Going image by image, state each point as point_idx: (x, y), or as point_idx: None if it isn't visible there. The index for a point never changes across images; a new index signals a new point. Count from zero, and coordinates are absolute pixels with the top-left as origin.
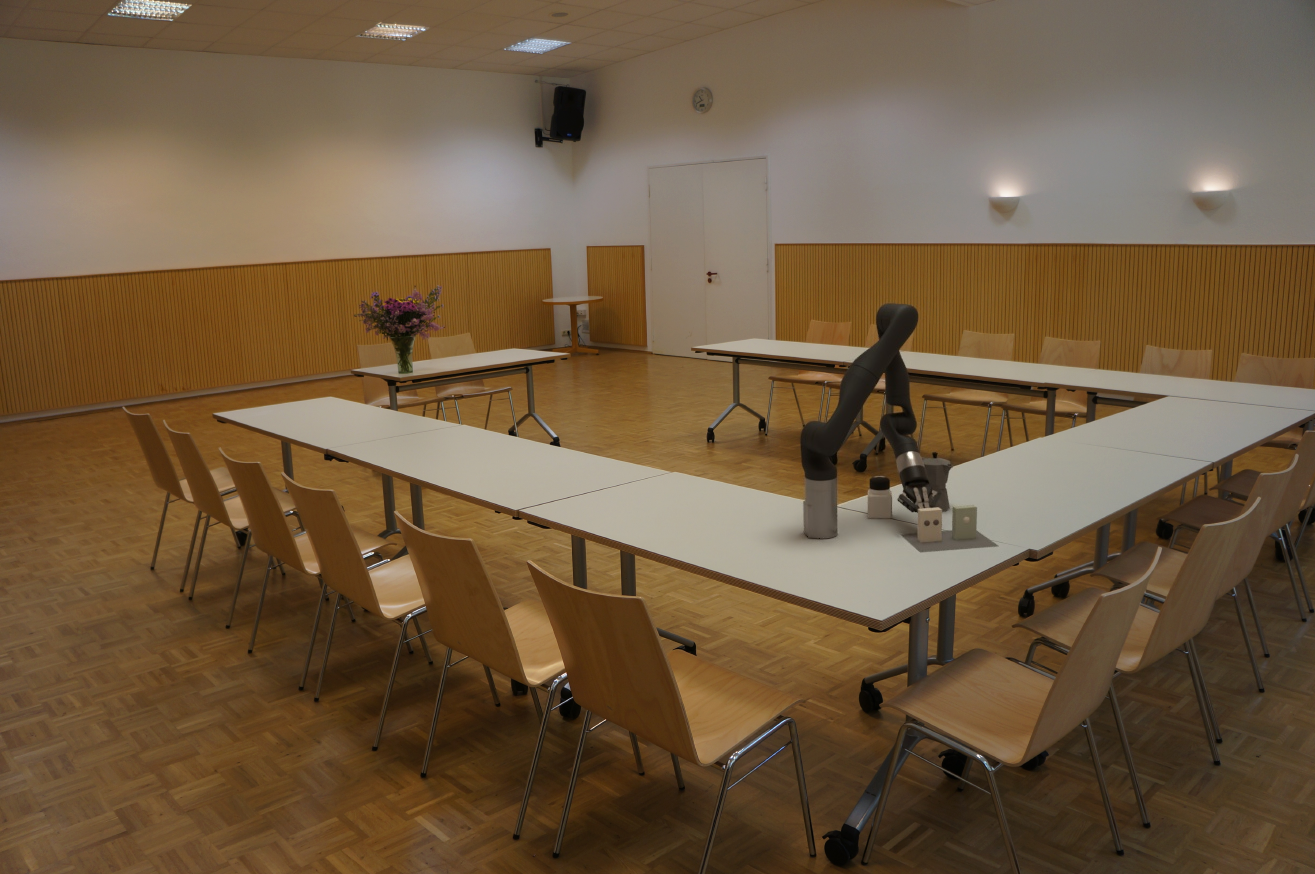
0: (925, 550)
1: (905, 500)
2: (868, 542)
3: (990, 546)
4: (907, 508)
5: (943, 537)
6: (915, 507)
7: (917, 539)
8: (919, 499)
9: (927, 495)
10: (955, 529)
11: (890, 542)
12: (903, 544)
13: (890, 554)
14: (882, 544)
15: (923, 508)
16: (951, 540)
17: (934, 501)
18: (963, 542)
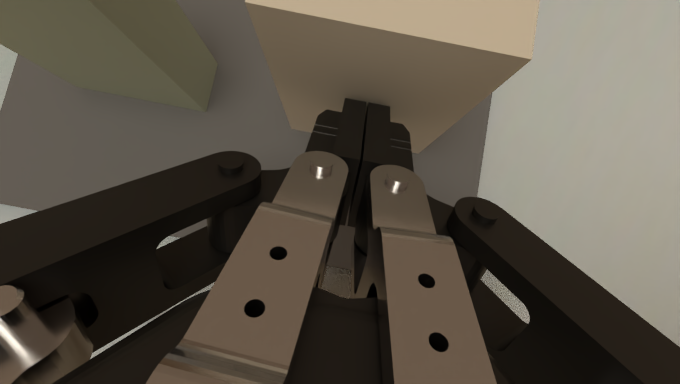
0: None
1: (648, 333)
2: (675, 262)
3: None
4: (507, 319)
5: (255, 127)
6: (474, 206)
7: (418, 152)
8: (413, 255)
9: (217, 281)
10: (193, 29)
11: (559, 210)
12: (508, 149)
13: (644, 38)
14: (615, 197)
15: (454, 44)
16: (246, 62)
17: (162, 197)
18: (206, 6)
